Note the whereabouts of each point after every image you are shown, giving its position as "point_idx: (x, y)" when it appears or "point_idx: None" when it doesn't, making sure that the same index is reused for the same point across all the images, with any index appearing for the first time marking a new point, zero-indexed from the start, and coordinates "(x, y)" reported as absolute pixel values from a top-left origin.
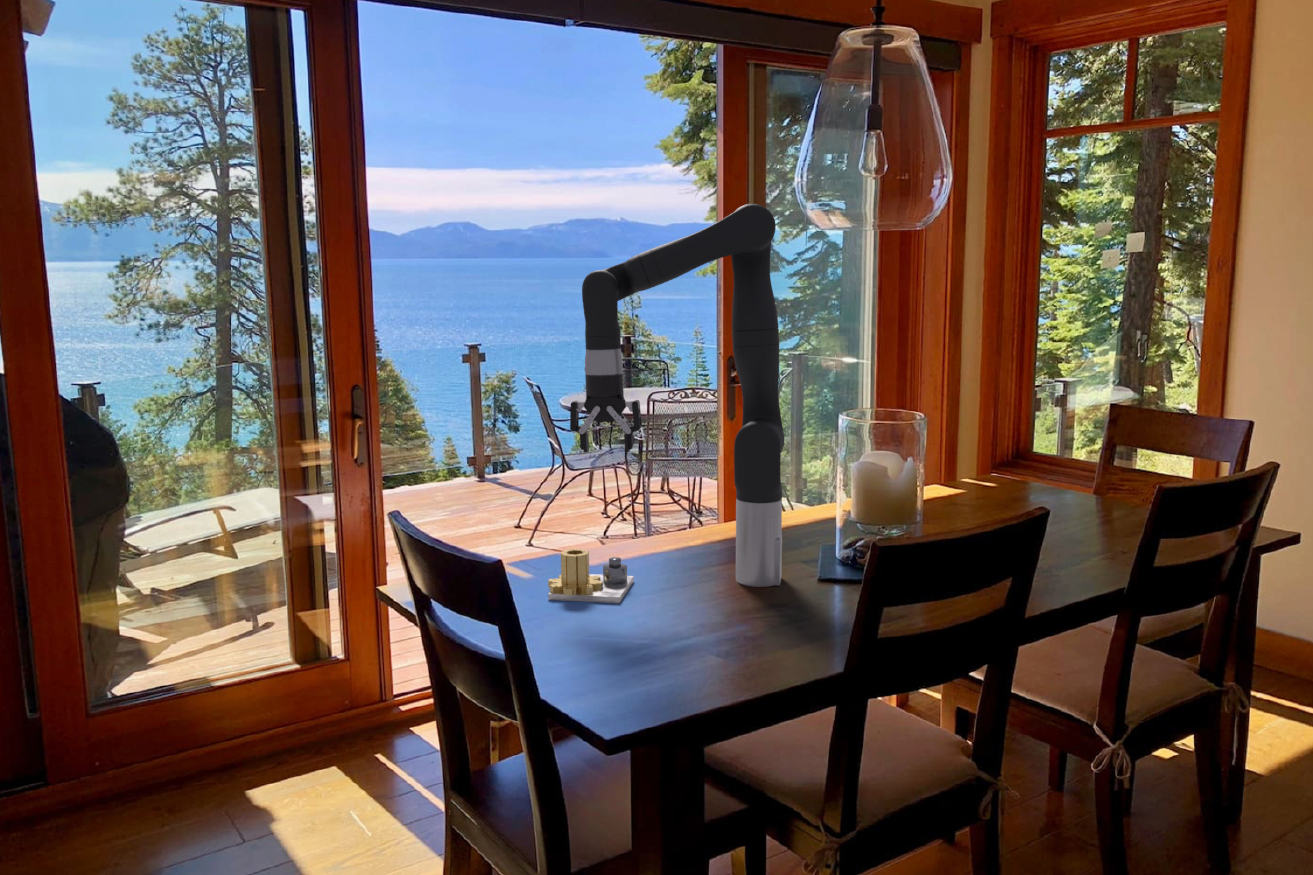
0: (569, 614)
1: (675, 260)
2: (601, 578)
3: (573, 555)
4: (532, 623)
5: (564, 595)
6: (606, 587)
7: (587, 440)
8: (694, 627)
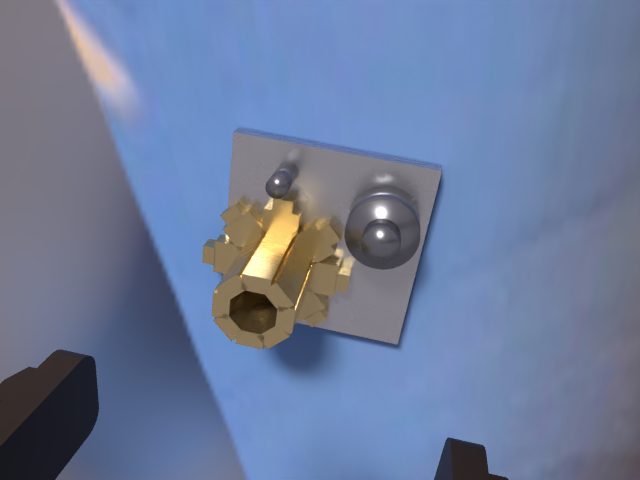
0: (288, 380)
1: None
2: (342, 192)
3: (254, 341)
4: (224, 416)
5: None
6: (361, 270)
7: (27, 467)
8: (555, 471)
